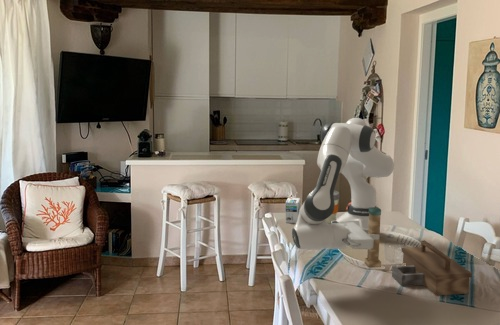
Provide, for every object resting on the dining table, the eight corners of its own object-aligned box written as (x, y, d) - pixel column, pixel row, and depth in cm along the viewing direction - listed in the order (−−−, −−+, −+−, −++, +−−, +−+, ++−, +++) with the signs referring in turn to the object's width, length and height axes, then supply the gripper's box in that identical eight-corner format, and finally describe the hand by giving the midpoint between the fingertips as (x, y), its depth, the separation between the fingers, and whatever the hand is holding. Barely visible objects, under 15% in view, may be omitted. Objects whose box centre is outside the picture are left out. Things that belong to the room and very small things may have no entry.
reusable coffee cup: (313, 217, 261) (313, 189, 258) (337, 217, 261) (337, 189, 258) (315, 224, 249) (315, 195, 246) (340, 224, 248) (341, 195, 246)
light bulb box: (298, 223, 251) (298, 202, 249) (285, 222, 252) (285, 202, 250) (300, 217, 261) (300, 197, 259) (287, 216, 262) (287, 197, 260)
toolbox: (413, 297, 168) (415, 265, 166) (382, 267, 194) (383, 238, 192) (470, 293, 170) (473, 262, 168) (432, 264, 197) (433, 236, 195)
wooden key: (368, 267, 176) (371, 210, 172) (364, 263, 180) (366, 207, 177) (381, 267, 177) (383, 210, 173) (376, 262, 181) (378, 206, 177)
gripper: (348, 236, 164) (388, 235, 166) (330, 219, 184) (366, 217, 186) (347, 255, 165) (387, 253, 167) (330, 235, 185) (365, 233, 187)
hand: (376, 234), depth 177 cm, fingers closed on wooden key, 3 cm apart
